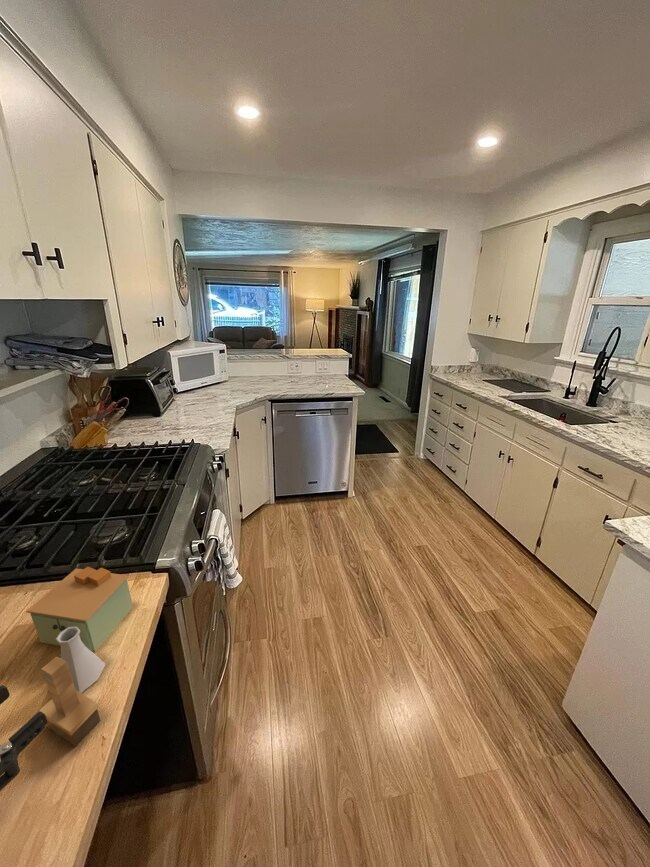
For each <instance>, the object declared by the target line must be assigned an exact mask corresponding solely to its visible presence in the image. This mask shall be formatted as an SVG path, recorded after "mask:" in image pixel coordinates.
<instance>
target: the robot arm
mask: <svg viewBox="0 0 650 867" xmlns="http://www.w3.org/2000/svg"><path fill="white" fill-rule="evenodd" d="M10 696H11V694H10V691H9V688H8V687H7V686H6V685H4V684H2V685H0V706H1V705H2V704H3V703H4V702H6V701H7V700H8V699H9V698H10ZM46 724H47V718H46V716H45V714H44V713H42V712H39V711H38V712H36V713H35V714H34V715H33V716H32V717H31V718H30V719H29V720H28V721H26V722H25V724H23V725H22V726H21V727H20V728H19V729H18V730H16V732H15V733H14V734H12V735H11V736H10V737H8V741H7V742H5V743H2V744H0V792H1V791H2V790H3V789H4V788H5V787H6V786H7V785H9V784H10V783H11V782H12V781H13V780H14V779H15V778H16V777H17V776H18V775H19V774H20V772H21V768H20V765H19V760H18V758H19V755H20V754H21V753H22V751H24V750H25V749H26V748H27V747H28V746H29V745H30V744H31V743H32V742H33V741H34V740H35V739H36V738H37V737H38V736H39V735H40V734H41V733H42V732H43V731H44V729H45V728H46V726H47V725H46Z"/></svg>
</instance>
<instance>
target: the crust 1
mask: <svg viewBox="0 0 650 867" xmlns="http://www.w3.org/2000/svg"><path fill="white" fill-rule="evenodd" d="M97 570H98V569H95V568H92V567H90V566H86V567H85V568H83V570H82V571H80V572H79V573H77V574H76V575H74V578H75V581H76V582H78V583H80V584H83V585H86V584H87V583H88V582H89V580H88V576H89V575H91V574H92V573H94V572H95V571H97Z"/></svg>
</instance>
